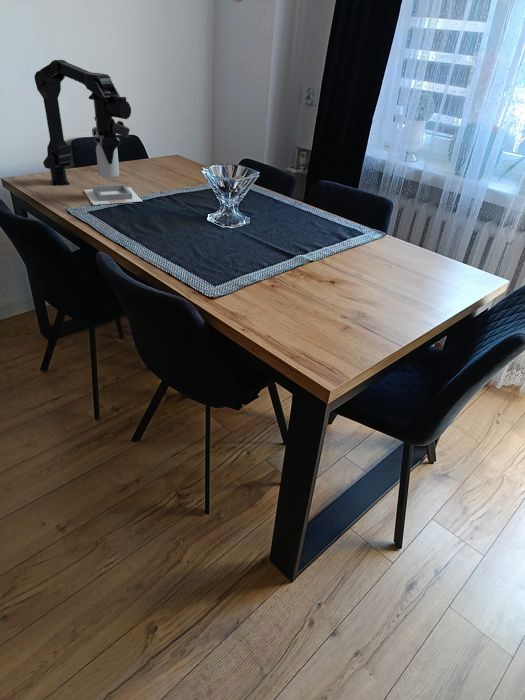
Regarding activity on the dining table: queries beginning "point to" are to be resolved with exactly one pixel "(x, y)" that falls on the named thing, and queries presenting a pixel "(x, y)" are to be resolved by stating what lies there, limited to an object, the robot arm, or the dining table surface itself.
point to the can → (107, 164)
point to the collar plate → (111, 194)
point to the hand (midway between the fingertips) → (108, 161)
